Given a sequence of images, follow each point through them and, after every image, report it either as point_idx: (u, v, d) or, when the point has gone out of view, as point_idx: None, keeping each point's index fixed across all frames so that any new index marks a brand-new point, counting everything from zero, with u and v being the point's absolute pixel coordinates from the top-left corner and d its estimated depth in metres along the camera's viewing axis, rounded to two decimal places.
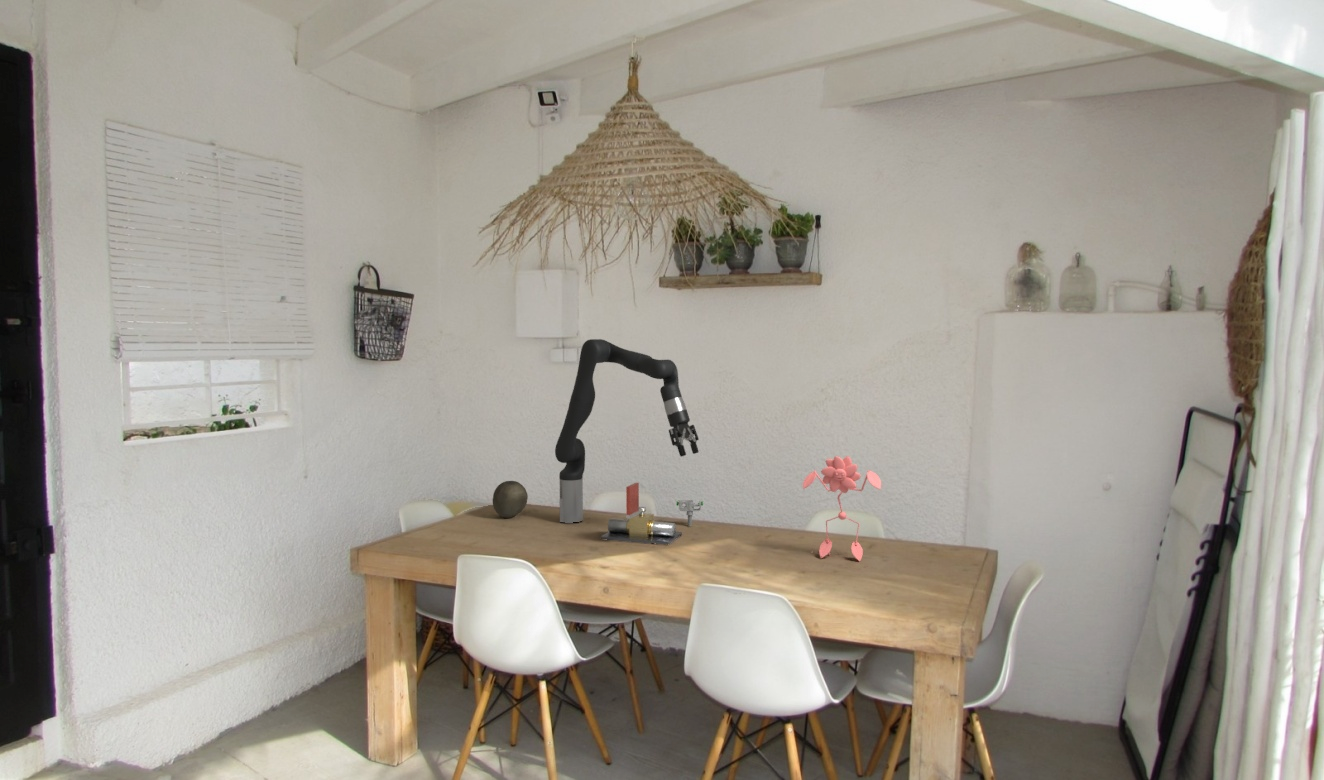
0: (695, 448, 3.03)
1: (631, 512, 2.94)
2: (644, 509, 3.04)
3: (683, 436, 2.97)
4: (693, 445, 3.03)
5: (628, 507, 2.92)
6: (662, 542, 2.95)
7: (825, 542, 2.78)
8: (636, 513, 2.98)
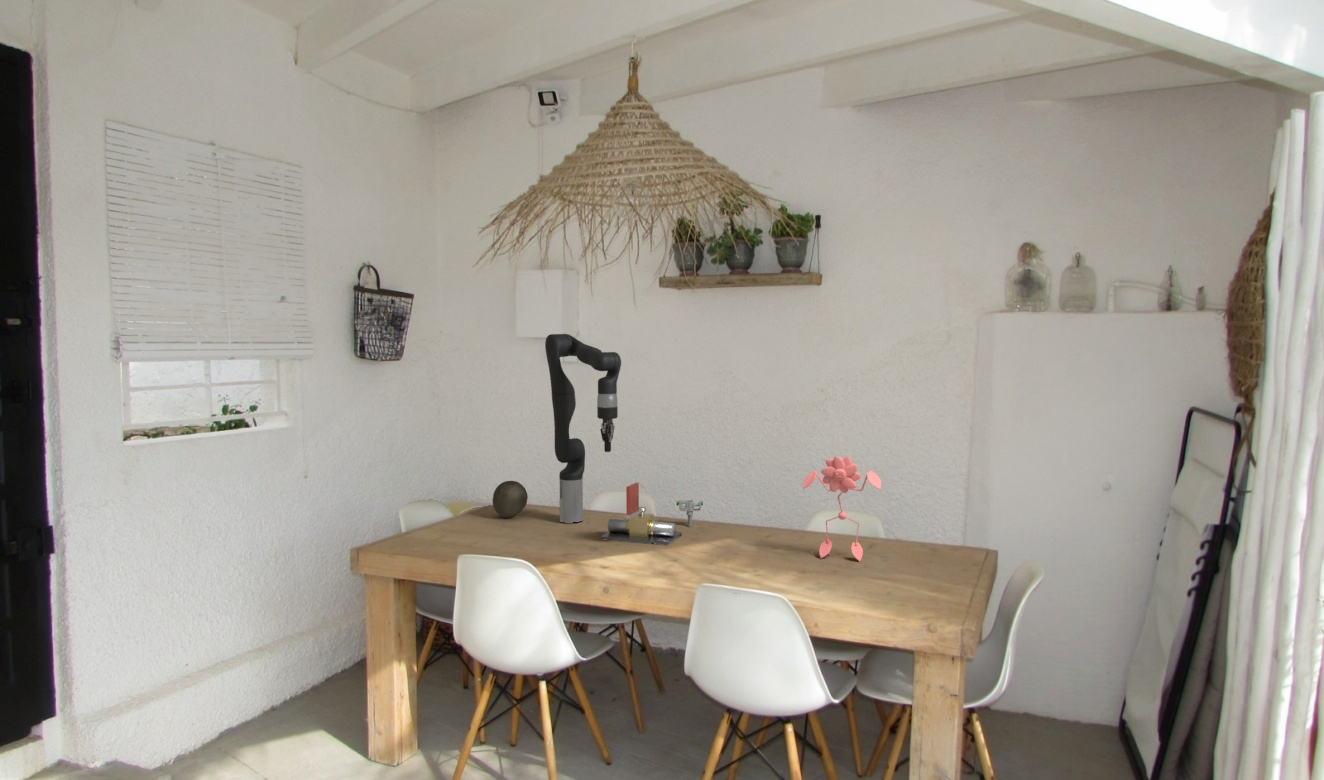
0: None
1: (631, 512, 2.94)
2: (644, 509, 3.04)
3: (611, 433, 3.09)
4: None
5: (628, 507, 2.92)
6: (662, 542, 2.95)
7: (825, 542, 2.78)
8: (636, 513, 2.98)
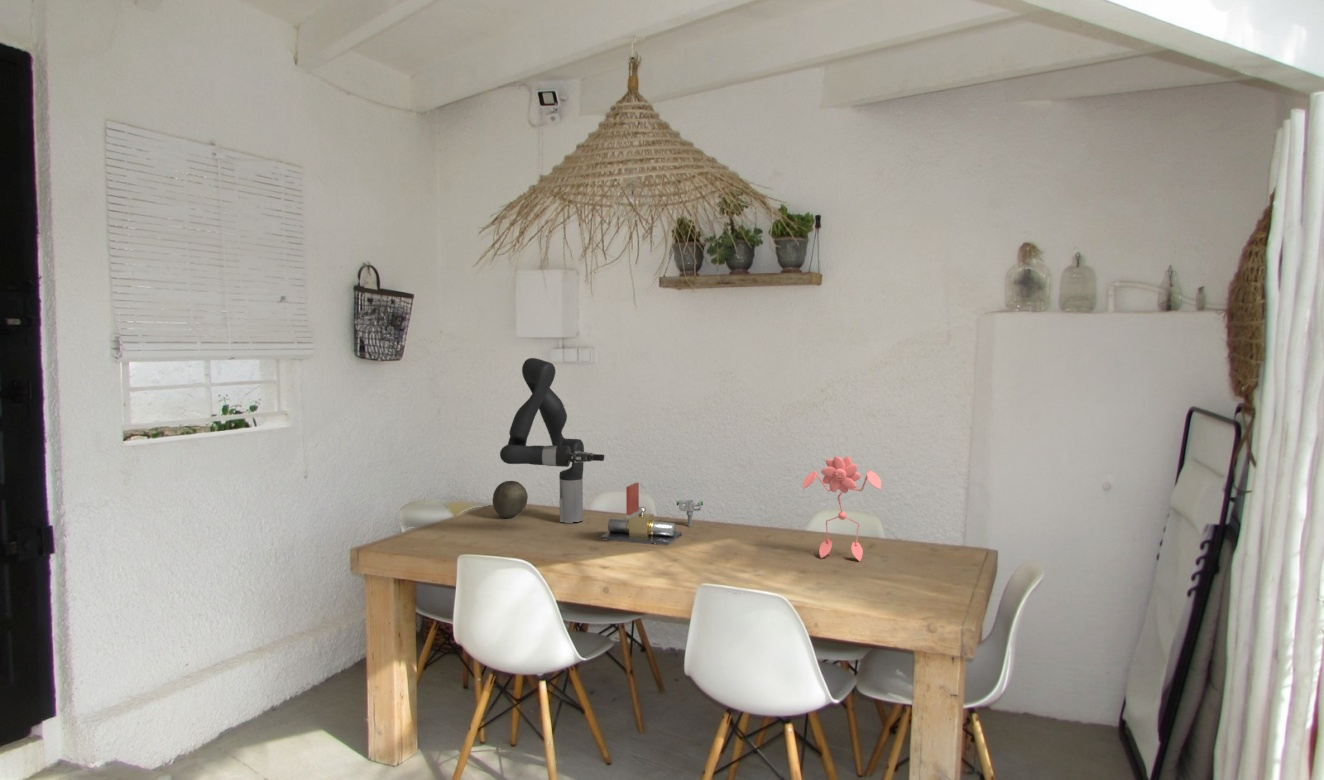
0: None
1: (631, 512, 2.94)
2: (644, 509, 3.04)
3: None
4: None
5: (628, 507, 2.92)
6: (662, 542, 2.95)
7: (825, 542, 2.78)
8: (636, 513, 2.98)
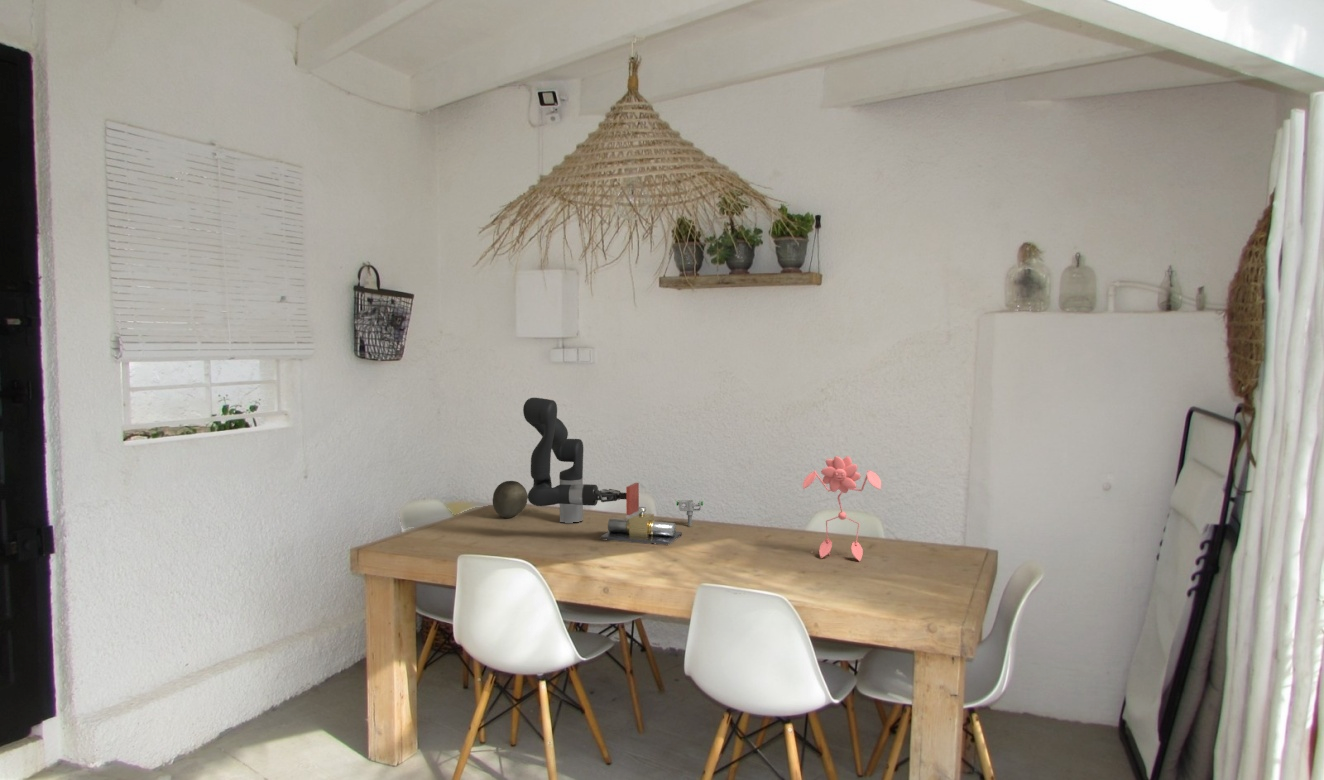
0: None
1: (631, 512, 2.94)
2: (644, 509, 3.04)
3: None
4: None
5: (628, 507, 2.92)
6: (662, 542, 2.95)
7: (825, 542, 2.78)
8: (636, 513, 2.98)
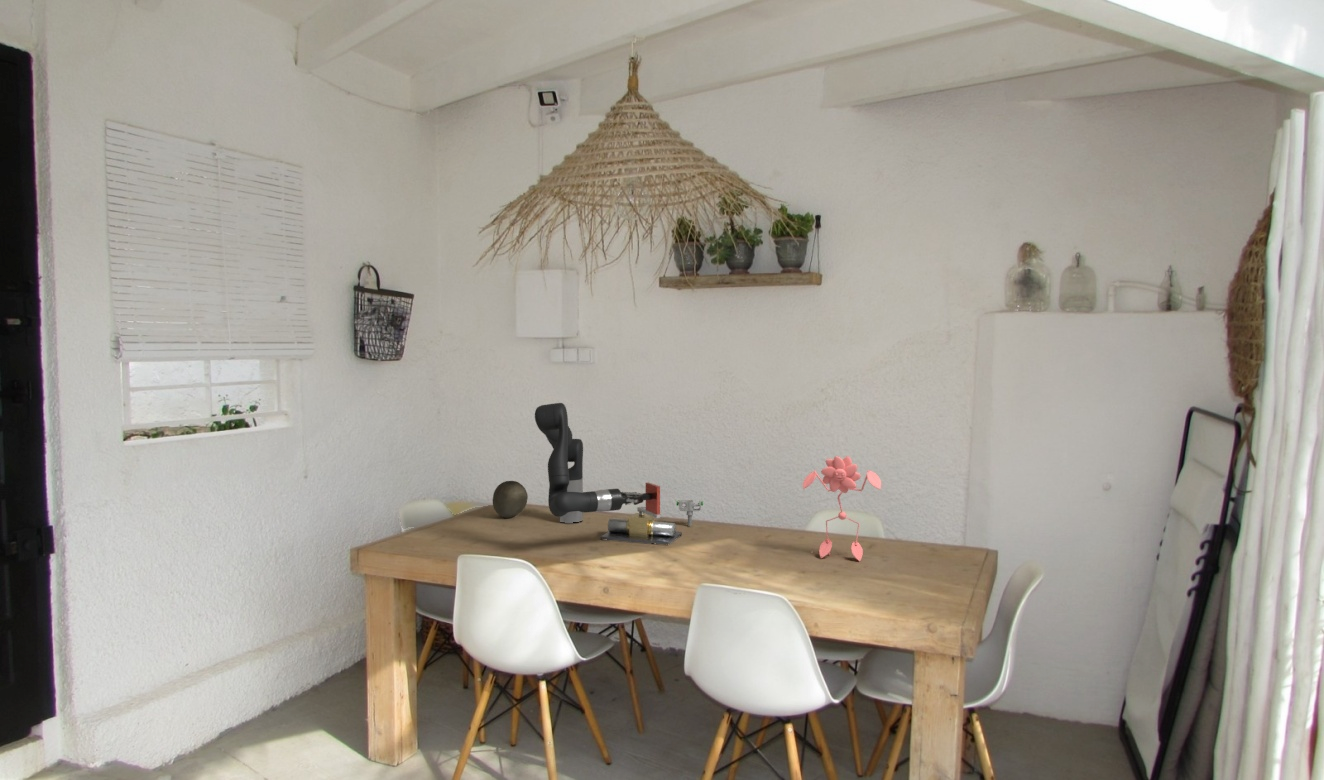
0: None
1: None
2: (645, 508, 3.05)
3: None
4: None
5: (658, 506, 2.93)
6: (662, 542, 2.95)
7: (825, 542, 2.78)
8: None
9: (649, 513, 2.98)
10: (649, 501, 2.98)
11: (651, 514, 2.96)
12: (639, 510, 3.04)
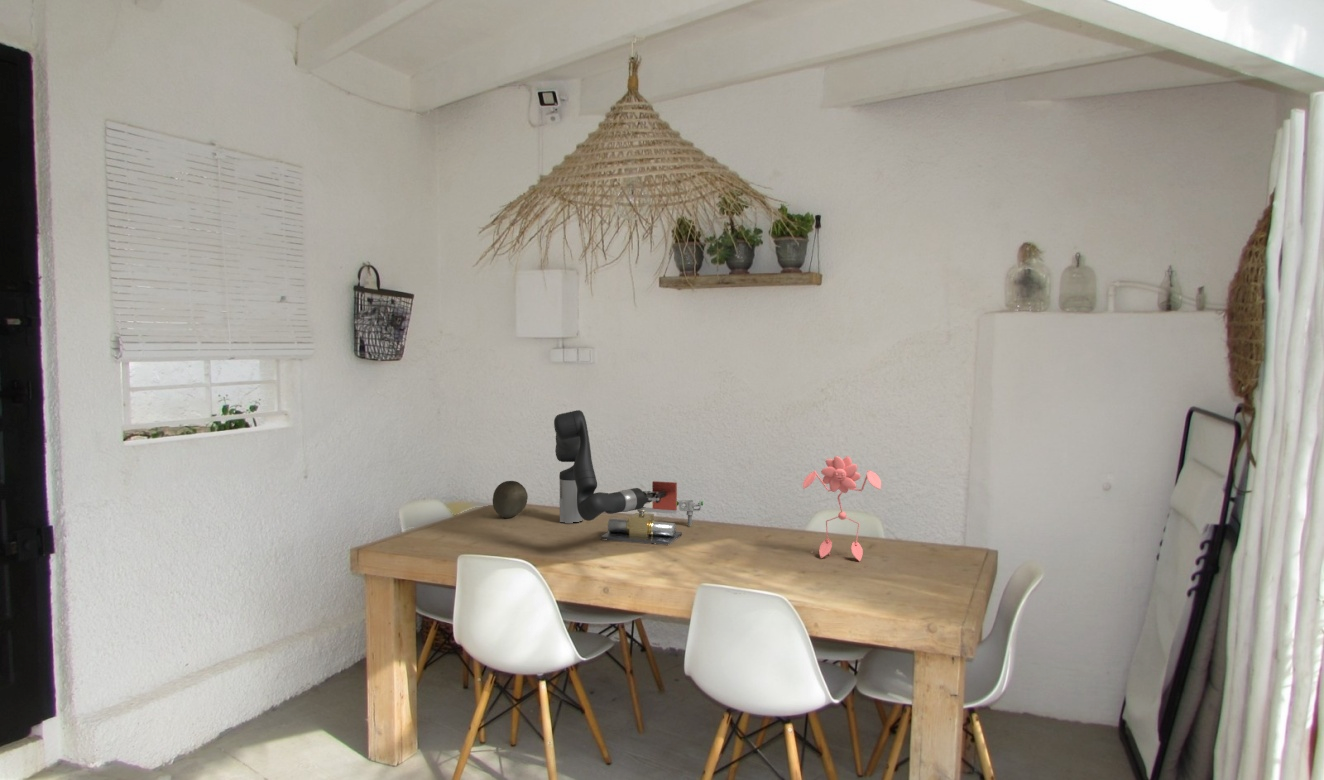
0: None
1: None
2: None
3: None
4: None
5: (676, 502, 3.01)
6: (662, 542, 2.95)
7: (825, 542, 2.78)
8: None
9: (661, 511, 3.02)
10: None
11: (665, 511, 3.01)
12: (642, 510, 3.04)
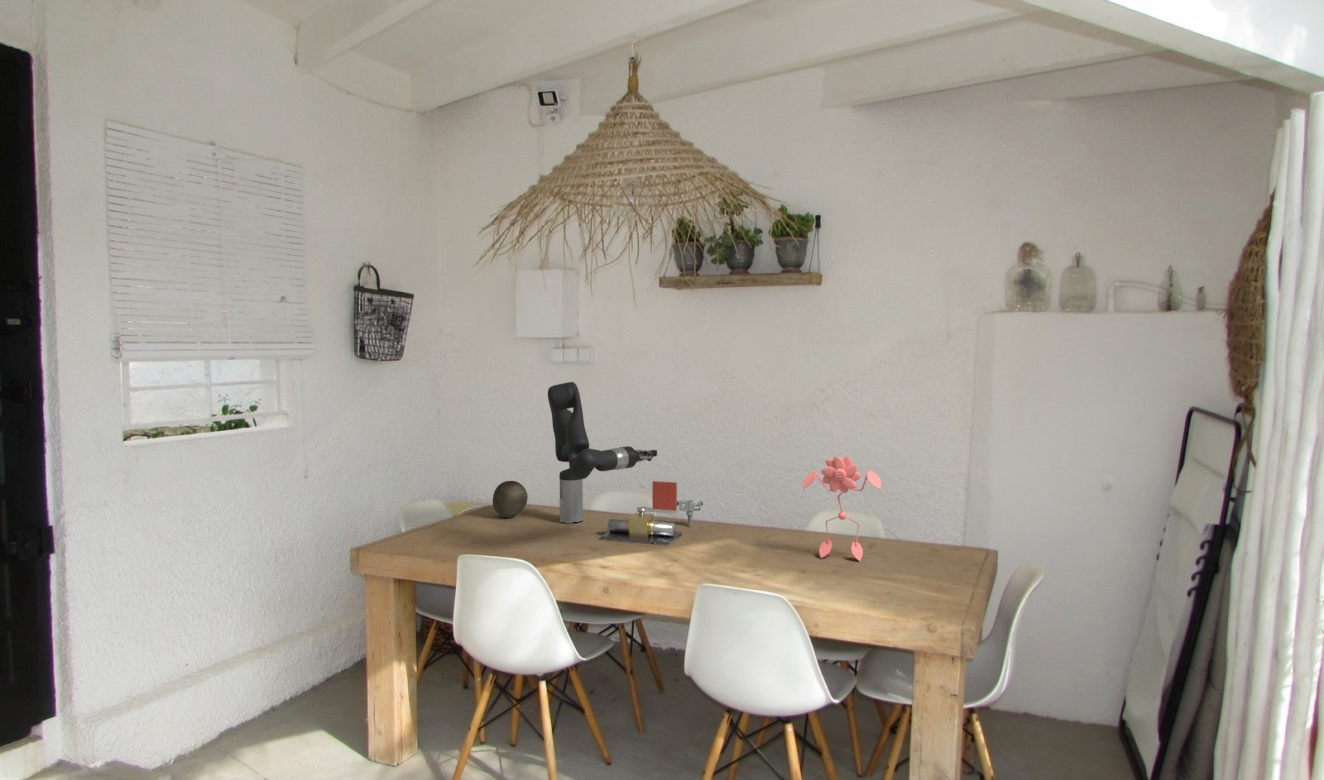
0: None
1: None
2: None
3: None
4: None
5: (676, 502, 3.01)
6: (662, 542, 2.95)
7: (825, 542, 2.78)
8: None
9: (661, 511, 3.02)
10: (660, 499, 3.02)
11: (665, 511, 3.01)
12: (642, 510, 3.04)
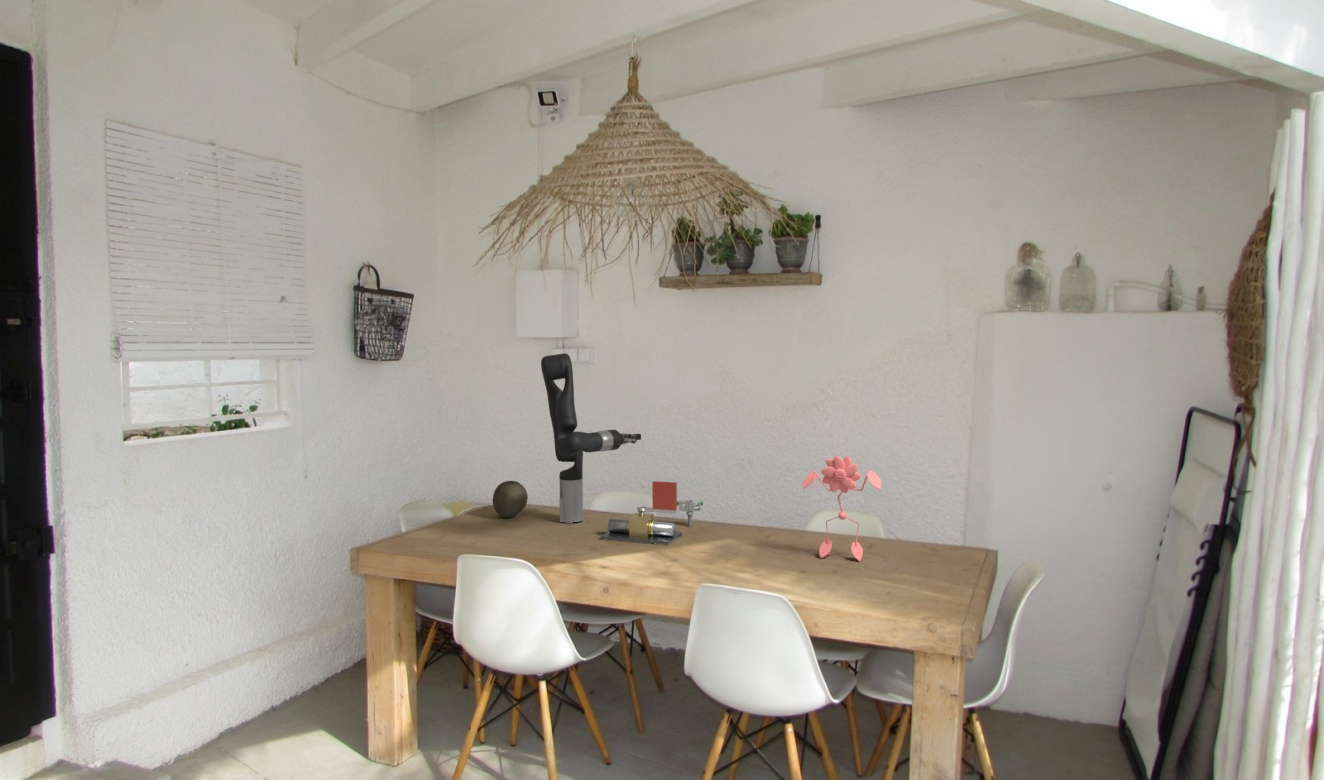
0: None
1: None
2: None
3: None
4: None
5: (676, 502, 3.01)
6: (662, 542, 2.95)
7: (825, 542, 2.78)
8: None
9: (661, 511, 3.02)
10: (660, 499, 3.02)
11: (665, 511, 3.01)
12: (642, 510, 3.04)
